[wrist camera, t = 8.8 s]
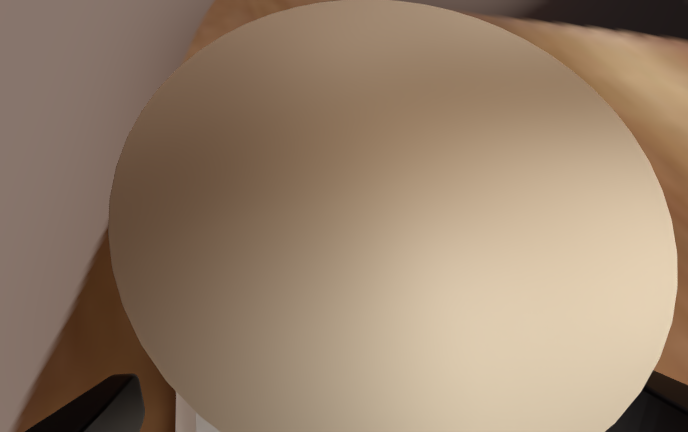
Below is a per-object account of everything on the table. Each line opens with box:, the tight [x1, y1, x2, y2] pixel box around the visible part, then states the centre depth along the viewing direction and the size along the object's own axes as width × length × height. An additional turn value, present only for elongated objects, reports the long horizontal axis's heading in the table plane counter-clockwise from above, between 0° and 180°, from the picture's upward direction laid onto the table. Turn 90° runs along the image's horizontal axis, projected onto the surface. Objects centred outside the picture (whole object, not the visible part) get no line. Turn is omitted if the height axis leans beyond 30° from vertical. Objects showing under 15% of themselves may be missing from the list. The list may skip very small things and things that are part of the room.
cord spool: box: [108, 0, 677, 432], centre depth 10 cm, size 6×6×13 cm
